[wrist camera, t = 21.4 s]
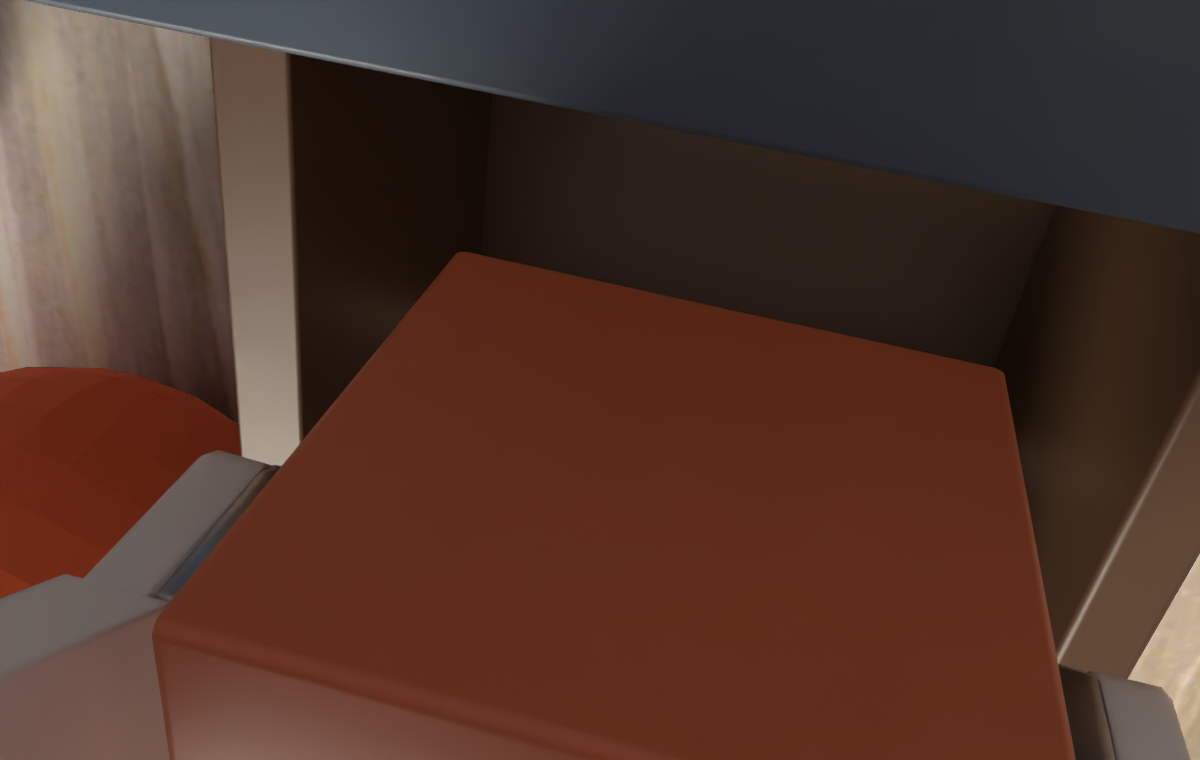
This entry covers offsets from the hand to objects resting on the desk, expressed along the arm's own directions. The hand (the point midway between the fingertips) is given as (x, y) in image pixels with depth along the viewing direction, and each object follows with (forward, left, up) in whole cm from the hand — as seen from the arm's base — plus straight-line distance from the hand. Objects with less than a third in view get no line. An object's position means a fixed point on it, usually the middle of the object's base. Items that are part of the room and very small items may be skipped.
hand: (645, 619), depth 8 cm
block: (0, 0, -1) cm, 1 cm away
